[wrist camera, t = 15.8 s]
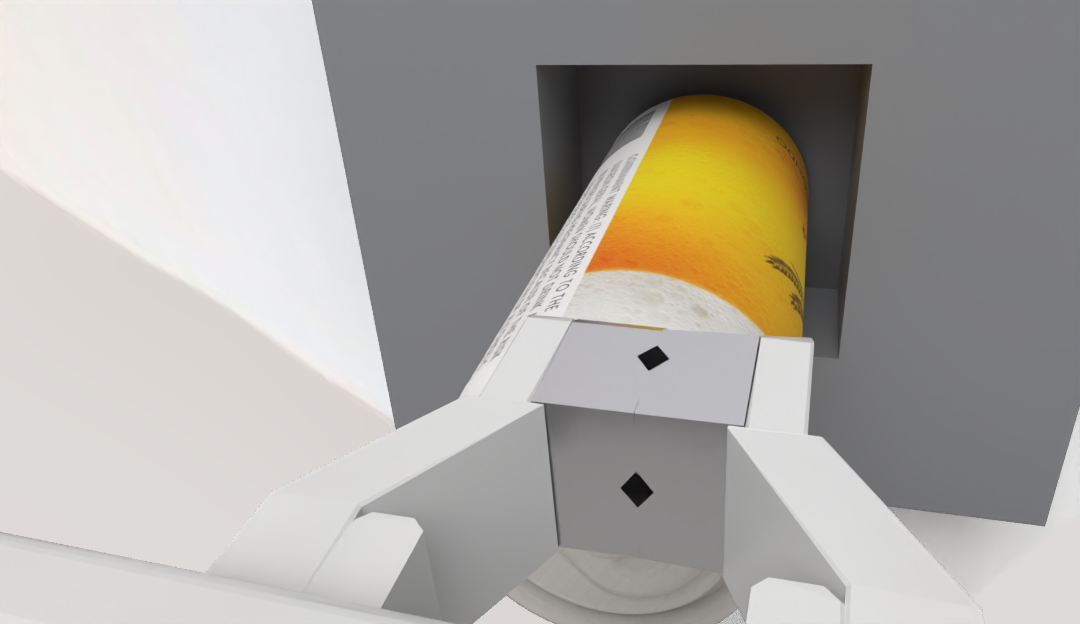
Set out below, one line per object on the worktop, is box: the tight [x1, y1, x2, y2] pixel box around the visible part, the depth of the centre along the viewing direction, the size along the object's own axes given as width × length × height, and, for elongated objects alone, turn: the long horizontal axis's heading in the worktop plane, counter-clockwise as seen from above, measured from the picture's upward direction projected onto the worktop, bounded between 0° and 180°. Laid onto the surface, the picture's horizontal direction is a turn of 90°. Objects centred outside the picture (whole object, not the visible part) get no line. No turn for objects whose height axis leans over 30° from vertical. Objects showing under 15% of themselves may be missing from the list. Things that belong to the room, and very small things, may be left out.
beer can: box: [459, 95, 809, 624], centre depth 20 cm, size 6×6×15 cm
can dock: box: [312, 0, 1080, 526], centre depth 25 cm, size 20×18×5 cm
